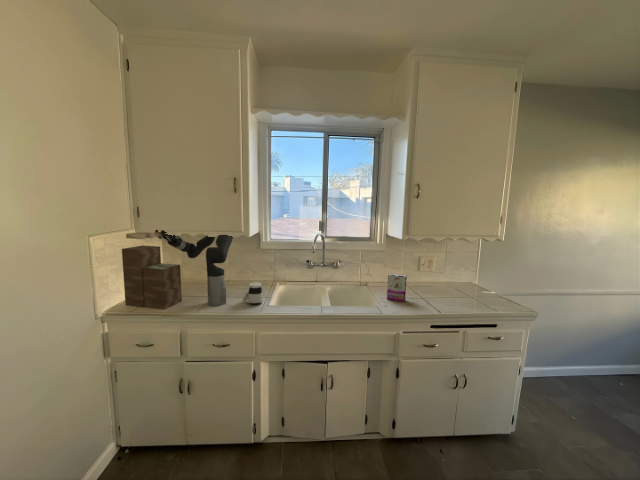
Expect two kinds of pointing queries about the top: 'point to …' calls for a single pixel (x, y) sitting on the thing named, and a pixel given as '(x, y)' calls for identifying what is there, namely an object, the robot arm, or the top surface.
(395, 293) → the candy bar box
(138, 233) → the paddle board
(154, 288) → the two-tone wooden block
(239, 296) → the top surface
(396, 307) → the top surface
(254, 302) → the spread jar
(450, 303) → the top surface
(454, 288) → the top surface
